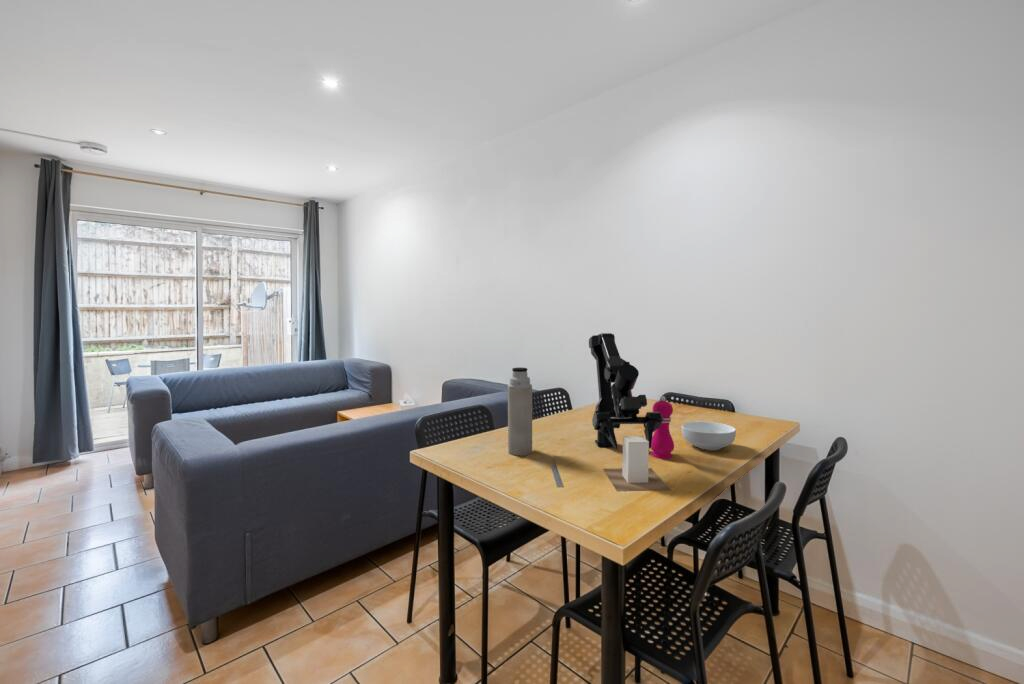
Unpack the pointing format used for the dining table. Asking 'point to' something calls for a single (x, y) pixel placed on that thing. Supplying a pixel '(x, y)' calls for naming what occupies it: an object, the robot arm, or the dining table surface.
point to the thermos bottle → (519, 413)
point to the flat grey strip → (557, 476)
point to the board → (622, 485)
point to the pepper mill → (662, 431)
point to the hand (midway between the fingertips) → (633, 448)
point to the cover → (635, 459)
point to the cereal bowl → (708, 434)
